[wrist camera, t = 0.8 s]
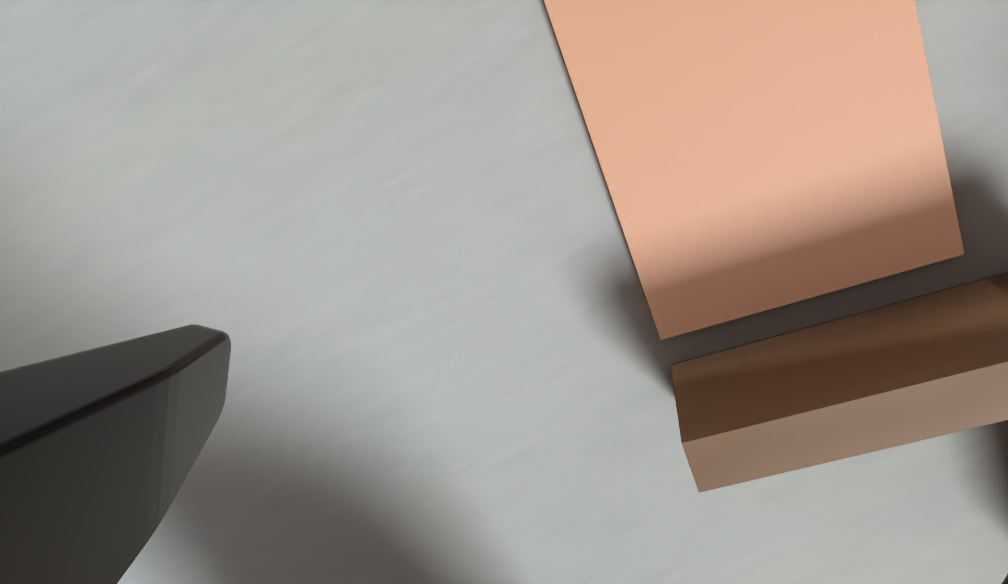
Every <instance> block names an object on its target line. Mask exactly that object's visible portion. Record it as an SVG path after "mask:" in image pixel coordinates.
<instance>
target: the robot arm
mask: <svg viewBox="0 0 1008 584" xmlns="http://www.w3.org/2000/svg"><path fill="white" fill-rule="evenodd" d="M230 352H231V341H230V338H229V336H228V334H227V333H225V332H223V331H219V330H215V329H212V328H208V327H204V326H200V325H194V324H193V325H188V326H184V327H180V328H176V329H172V330H168V331H164V332H159V333H155V334H151V335H147V336H143V337H139V338H135V339H131V340H127V341H123V342H119V343H115V344H111V345H107V346H103V347H99V348H95V349H91V350H87V351H83V352H79V353H75V354H71V355H67V356H63V357H59V358H55V359H51V360H47V361H43V362H39V363H35V364H31V365H27V366H23V367H19V368H15V369H11V370H7V371H3V372H0V584H117V583H118V581H119V580H120V579H121V577H122V576H123V575H124V573H125V572H126V570H127V569H128V568H129V566H130V565H131V564H132V562H133V561H134V559H135V558H136V557H137V555H138V554H139V553H140V551H141V550H142V548H143V547H144V546H145V544H146V543H147V541H148V540H149V538H150V537H151V535H152V534H153V533H154V531H155V530H156V528H157V527H158V525H159V523H160V522H161V520H162V518H163V517H164V515H165V513H166V512H167V510H168V508H169V507H170V505H171V503H172V501H173V499H174V498H175V496H176V494H177V492H178V490H179V489H180V487H181V485H182V483H183V481H184V480H185V478H186V476H187V474H188V472H189V471H190V469H191V467H192V465H193V464H194V462H195V460H196V458H197V456H198V455H199V453H200V451H201V449H202V447H203V446H204V444H205V442H206V440H207V438H208V437H209V435H210V433H211V431H212V429H213V428H214V426H215V424H216V422H217V421H218V419H219V417H220V414H221V412H222V409H223V406H224V402H225V397H226V388H227V379H228V370H229V361H230ZM1002 584H1008V574H1007V576H1006V578H1005V579H1004V581H1003V583H1002Z"/></svg>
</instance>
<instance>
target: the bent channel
mask: <svg viewBox="0 0 1008 584" xmlns="http://www.w3.org/2000/svg"><path fill="white" fill-rule="evenodd" d="M670 366H671V373H672V379H673V386H674V393H675V400H676V407H677V414H678V421H679V427H680V434H681V441H682V445H683V448H684V451H685V454H686V457H687V459H688V462H689V465H690V468H691V471H692V474H693V477H694V479H695V482H696V485H697V488H698V491H699V492H703V491H707V490H712V489H716V488H720V487H724V486H729V485H733V484H737V483H742V482H746V481H750V480H754V479H759V478H763V477H767V476H771V475H776V474H780V473H784V472H788V471H793V470H797V469H801V468H805V467H810V466H814V465H818V464H822V463H827V462H831V461H835V460H839V459H844V458H848V457H852V456H856V455H861V454H865V453H869V452H873V451H878V450H882V449H886V448H890V447H895V446H899V445H903V444H907V443H912V442H916V441H920V440H924V439H929V438H933V437H937V436H941V435H946V434H950V433H954V432H959V431H963V430H967V429H971V428H976V427H980V426H984V425H988V424H993V423H997V422H1001V421H1005V420H1008V273H1006V274H1002V275H999V276H995V277H991V278H988V279H984V280H980V281H977V282H973V283H969V284H966V285H962V286H958V287H955V288H951V289H947V290H944V291H940V292H937V293H933V294H929V295H926V296H922V297H918V298H915V299H911V300H907V301H904V302H900V303H896V304H893V305H889V306H885V307H882V308H878V309H874V310H871V311H867V312H864V313H860V314H856V315H853V316H849V317H845V318H842V319H838V320H834V321H831V322H827V323H823V324H820V325H816V326H812V327H809V328H805V329H802V330H798V331H794V332H791V333H787V334H783V335H780V336H776V337H772V338H769V339H765V340H761V341H758V342H754V343H750V344H747V345H743V346H739V347H736V348H732V349H729V350H725V351H721V352H718V353H714V354H710V355H707V356H703V357H699V358H696V359H692V360H688V361H685V362H681V363H677V364H674V365H670Z"/></svg>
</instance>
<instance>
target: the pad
mask: <svg viewBox="0 0 1008 584" xmlns="http://www.w3.org/2000/svg"><path fill="white" fill-rule="evenodd" d="M544 3H545V5H546V8H547V11H548V14H549V17H550V20H551V23H552V26H553V29H554V32H555V34H556V37H557V40H558V43H559V46H560V49H561V52H562V55H563V58H564V61H565V64H566V66H567V69H568V72H569V75H570V78H571V81H572V84H573V87H574V90H575V93H576V95H577V98H578V101H579V104H580V107H581V110H582V113H583V116H584V119H585V122H586V125H587V127H588V130H589V133H590V136H591V139H592V142H593V145H594V148H595V151H596V154H597V156H598V159H599V162H600V165H601V168H602V171H603V174H604V177H605V180H606V183H607V185H608V188H609V191H610V194H611V197H612V200H613V203H614V206H615V209H616V212H617V215H618V217H619V220H620V223H621V226H622V229H623V232H624V235H625V238H626V241H627V244H628V246H629V249H630V252H631V255H632V258H633V261H634V264H635V267H636V270H637V273H638V276H639V278H640V281H641V284H642V287H643V290H644V293H645V296H646V299H647V302H648V305H649V307H650V310H651V313H652V316H653V319H654V322H655V325H656V328H657V331H658V334H659V337H660V339H661V340H663V339H667V338H670V337H674V336H677V335H681V334H684V333H688V332H692V331H695V330H699V329H702V328H706V327H709V326H713V325H716V324H720V323H723V322H727V321H730V320H734V319H738V318H741V317H745V316H748V315H752V314H755V313H759V312H762V311H766V310H769V309H773V308H777V307H780V306H784V305H787V304H791V303H794V302H798V301H801V300H805V299H808V298H812V297H816V296H819V295H823V294H826V293H830V292H833V291H837V290H840V289H844V288H847V287H851V286H854V285H858V284H862V283H865V282H869V281H872V280H876V279H879V278H883V277H886V276H890V275H893V274H897V273H901V272H904V271H908V270H911V269H915V268H918V267H922V266H925V265H929V264H932V263H936V262H940V261H943V260H947V259H950V258H954V257H957V256H961V255H964V249H963V244H962V239H961V233H960V228H959V223H958V218H957V213H956V208H955V203H954V198H953V193H952V188H951V182H950V177H949V172H948V167H947V162H946V157H945V152H944V147H943V142H942V137H941V131H940V126H939V121H938V116H937V111H936V106H935V101H934V96H933V91H932V86H931V81H930V75H929V70H928V65H927V60H926V55H925V50H924V45H923V40H922V35H921V30H920V24H919V19H918V14H917V9H916V4H915V0H544Z"/></svg>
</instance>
